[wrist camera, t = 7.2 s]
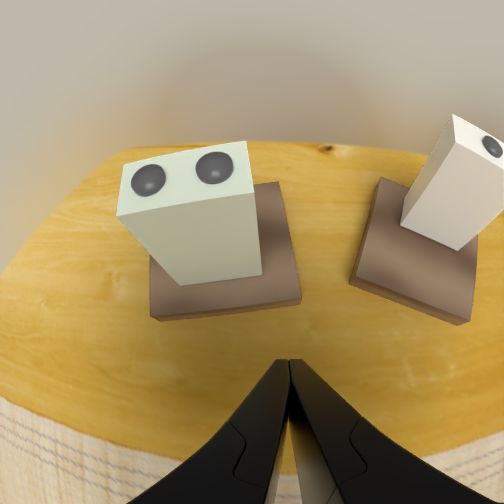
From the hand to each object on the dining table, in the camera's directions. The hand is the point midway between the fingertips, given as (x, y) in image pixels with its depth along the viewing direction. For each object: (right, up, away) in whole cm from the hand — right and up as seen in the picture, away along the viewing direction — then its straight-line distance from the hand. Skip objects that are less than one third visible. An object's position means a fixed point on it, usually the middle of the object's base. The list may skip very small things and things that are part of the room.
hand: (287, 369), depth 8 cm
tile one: (+14, +6, +13) cm, 20 cm away
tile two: (-4, +3, +13) cm, 14 cm away
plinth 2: (+14, +3, +14) cm, 20 cm away
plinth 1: (-4, +3, +15) cm, 16 cm away
